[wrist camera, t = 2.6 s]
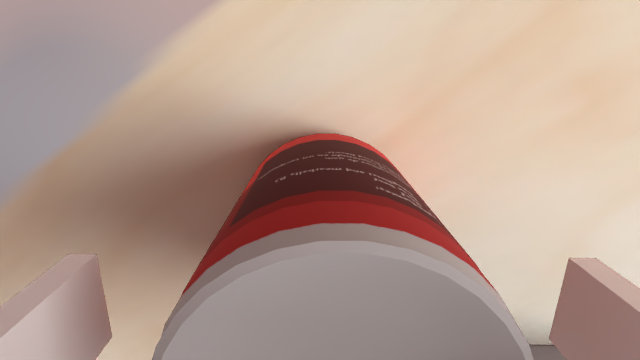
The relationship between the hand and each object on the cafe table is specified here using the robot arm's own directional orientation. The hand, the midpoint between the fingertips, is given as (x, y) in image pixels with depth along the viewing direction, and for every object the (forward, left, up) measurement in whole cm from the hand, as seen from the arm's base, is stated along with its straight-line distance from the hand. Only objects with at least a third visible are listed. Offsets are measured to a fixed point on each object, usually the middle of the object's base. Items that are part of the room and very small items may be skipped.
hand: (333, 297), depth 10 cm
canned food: (0, 0, -8) cm, 8 cm away
